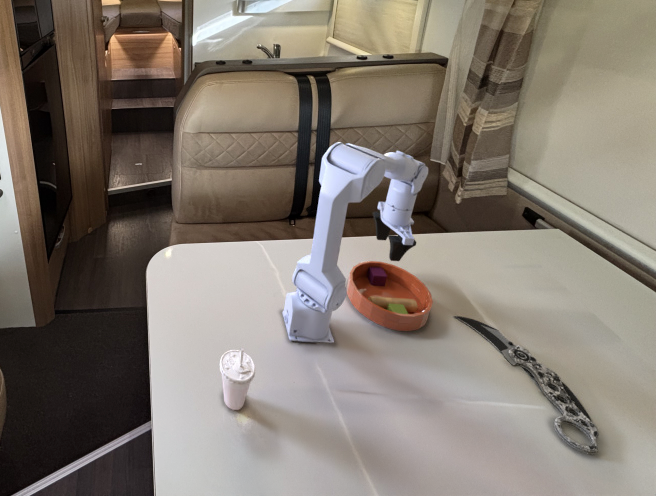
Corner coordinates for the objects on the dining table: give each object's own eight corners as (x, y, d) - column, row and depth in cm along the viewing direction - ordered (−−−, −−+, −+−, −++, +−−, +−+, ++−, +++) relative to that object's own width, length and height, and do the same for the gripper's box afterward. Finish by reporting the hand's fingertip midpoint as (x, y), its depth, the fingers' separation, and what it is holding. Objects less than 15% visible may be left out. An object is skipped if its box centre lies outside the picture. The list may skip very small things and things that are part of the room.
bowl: (362, 330, 95) (366, 313, 94) (336, 274, 111) (340, 259, 109) (442, 335, 94) (448, 318, 92) (405, 278, 110) (410, 263, 108)
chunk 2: (391, 325, 96) (394, 314, 95) (385, 313, 99) (388, 303, 98) (406, 326, 96) (409, 315, 94) (400, 314, 98) (403, 304, 97)
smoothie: (244, 424, 77) (250, 371, 72) (211, 405, 80) (215, 353, 75) (255, 394, 82) (262, 342, 77) (224, 378, 85) (229, 326, 80)
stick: (366, 300, 102) (370, 311, 100) (369, 294, 100) (373, 305, 98) (409, 302, 101) (414, 314, 99) (414, 296, 99) (419, 308, 97)
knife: (453, 313, 98) (496, 310, 98) (452, 318, 98) (494, 315, 98) (571, 452, 72) (630, 448, 72) (568, 457, 72) (626, 453, 72)
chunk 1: (371, 285, 107) (374, 275, 106) (366, 276, 110) (368, 266, 109) (384, 286, 107) (387, 276, 105) (379, 277, 110) (381, 267, 108)
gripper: (433, 223, 94) (419, 271, 99) (402, 187, 108) (391, 231, 113) (400, 221, 95) (387, 269, 100) (373, 186, 108) (363, 230, 113)
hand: (387, 249), depth 106 cm, fingers open, 7 cm apart
